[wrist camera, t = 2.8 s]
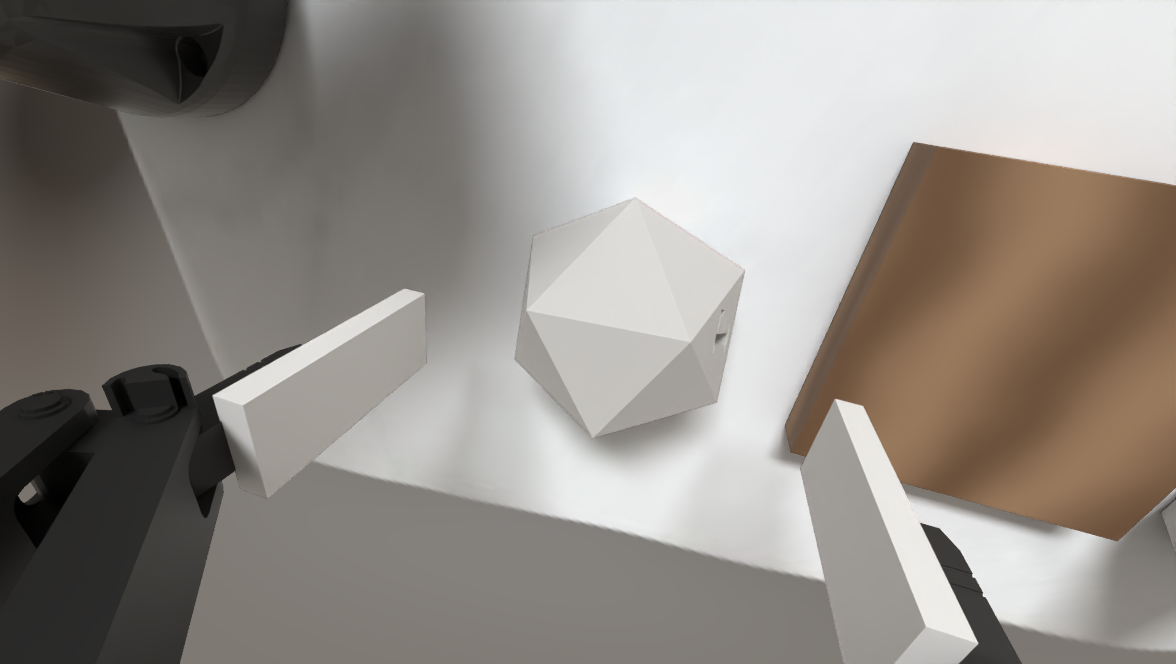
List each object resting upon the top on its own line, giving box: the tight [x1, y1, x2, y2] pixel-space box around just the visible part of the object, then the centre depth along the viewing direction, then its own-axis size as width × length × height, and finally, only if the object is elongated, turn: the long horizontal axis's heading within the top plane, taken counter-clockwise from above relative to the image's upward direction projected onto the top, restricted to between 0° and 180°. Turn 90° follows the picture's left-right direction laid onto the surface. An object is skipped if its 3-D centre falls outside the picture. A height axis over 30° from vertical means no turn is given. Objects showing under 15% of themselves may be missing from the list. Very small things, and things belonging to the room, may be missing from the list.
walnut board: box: [785, 142, 1176, 541], centre depth 17 cm, size 13×13×2 cm
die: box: [515, 197, 745, 438], centre depth 18 cm, size 8×9×10 cm
